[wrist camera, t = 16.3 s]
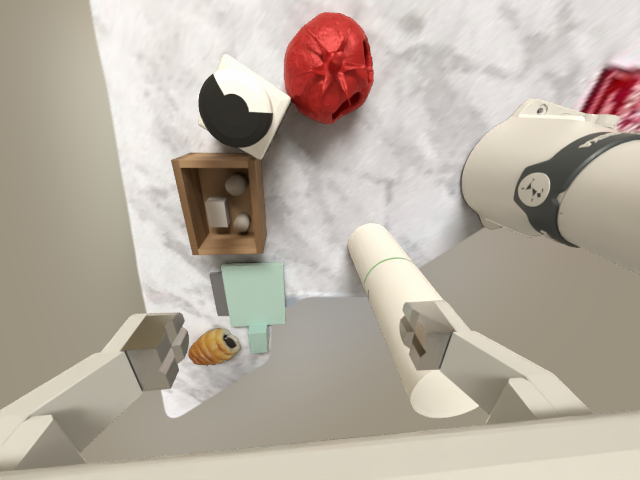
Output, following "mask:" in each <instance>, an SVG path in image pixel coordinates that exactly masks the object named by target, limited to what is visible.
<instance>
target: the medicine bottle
mask: <svg viewBox="0 0 640 480" xmlns="http://www.w3.org/2000/svg"><path fill="white" fill-rule="evenodd" d="M290 104H291V98H290V97H289V96H288V95H287V94H285V93H284V92H282V91H281V90H280V89H278V88H277V87H275V86H274V85H272V84H271V83H269V82H268V81H266V80H265V79H263V78H262V77H260V76H259V75H257V74H256V73H254V72H253V71H251V70H250V69H248V68H247V67H245V66H244V65H242V64H241V63H239V62H238V61H236V60H235V59H233V58H232V57H230V56H229V55H227V54H224V55H223V56H222V59H221V62H220V64H219V67H218V70H217V72H216V73H214V74H212V75H211V76H210V77H209V78H208V79H207V80H206V81H205V82H204V84H203V86H202V88H201V91H200V94H199V112H200V118H199V121H198V124H199V125H200V126H201V127H202V128H204V129H206V130H208V131H209V132H210V133H211V135H212V136H213V137H215V138H216V139H217V140H218V141H220V142H221V143H223V144H225V145H228V146H231V147H236V148H240V149H241V150H243V151H245V152H247V153H248V154H250V155H252V156H254V157H255V158H257V159H262V158H263V157H264V155H265V154H266V152H267V151H268V149H269V147H270V145H271V143H272V141H273V139H274V137H275V135H276V133H277V131H278V129H279V127H280V125H281V123H282V121H283V119H284V117H285V115H286V113H287V110H288V108H289V106H290Z"/></svg>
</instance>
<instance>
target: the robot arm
mask: <svg viewBox="0 0 640 480" xmlns="http://www.w3.org/2000/svg"><path fill="white" fill-rule="evenodd" d="M538 109H539V111H538V113H537V110H538ZM619 120H620V116H616V115H608V114H597V115H594V114H585V113H582V112H579V111H576V110H572V109H569V108H566V107H563V106H559V105H556V104H553V103H550V102H546V101H543V100H540V99H528V100H527V101H525V102H524V103H523V104H522V105H521V106H520V107H519V108H518V109H517V110H516V111H515V112H514V114H513V115H512V116H511V117H510V118H509V119H507V120H506V121H505V122H503V123H501V124H500V125H498V126H496V127H495V128H494V129H492V130H491V131H490V132H488V133H487V134H486V135H485V136H484V137H483V138H482V139H481V140H480V141H479V142H478V144H477V145H476V146H475V148H474V149H473V150H472V152H471V154H470V155H469V157H468V159H467V162H466V164H465V167H464V170H463V175H462V192H463V196H464V198H465V200H466V202H467V204H468V205H469V206H470V207H471V208H472V209H473V210H474V211H476V212H477V213H478V214H479V216H480V220H481V222H482V224H483V226H484V227H486V228H488V229H497V228H502V227H504V228H506V229H508V230H511V231H513V232H516V233H518V234H520V235H522V236H525V237H529V238H532V237H533V236H541V235H545V236H546V237H547V238H549V239H551V240H553V241H556V242H558V243H561V244H565V245H568V246H571V247H576V248H583V249H585V250H587V251H589V252H592V253H594V254H596V255H598V256H600V257H602V258H604V259H607V260H609V261H611V262H613V263H615V264H617V265H619V266H622V267H624V268H626V269H628V270H630V271H632V272H634V273H637V274H639V275H640V134H639V133H633V132H617V126H616V125H617V123H618V121H619ZM402 311H403V313H404V316H403V317H402V318H401V319H400V324H399V330H400V336H401V339H402V341H403V344H404V345H405V346H407V347H408V348H409V349H410V352H409V356H410V358H411V360H412V362H413V364H414V366H415V368H416V370H417V371H420V370H440V372H441V373H443V374H444V375H445V376H446V377H447V378H448V379H449V380H451V381H452V382H453V383H454V384H455V385H456V386H457V387H459V388H460V389H461V390H462V391H463V392H464V393H465V394H467V395H468V396H469V397H470V398H471V399H472V400H473V401H475V402H476V403H477V404H478V405H479V406H480V407H481V408H483V409H484V410H485V411H486V412H487V413H488V414H490V416H489V418H488V419H487V421H486V423H485V425H476V426H466V427H456V428H445V429H435V430H425V431H414V432H406V433H405V432H404V433H394V434H384V435H373V436H363V437H353V438H343V439H333V440H322V441H312V442H302V443H293V444H282V445H271V446H261V447H251V448H241V449H231V450H220V451H210V452H201V453H190V454H180V455H169V456H158V457H148V458H138V459H127V460H117V461H107V462H97V463H87V461H86V460H85V459H84V457H83V456H82V455H81V452H82V451H83V450H84V449H85V448H86V447H87V446H88V445H89V444H90V443H91V442H92V441H93V440H94V439H95V438H96V437H97V436H98V435H99V434H100V433H101V432H102V431H104V429H106V428H107V427H108V426H109V424H111V423H112V422H113V421H114V420H115V419H116V418H117V417H118V416H119V415H120V414H121V413H122V412H123V411H124V410H125V409H126V408H127V407H129V405H130V404H132V403H133V402H134V401H135V400H136V399H137V398H138V397H139V396H140V395H141V394H142V391H152V390H162V389H171V387H172V385H173V382H174V380H175V378H176V376H177V373H178V371H179V368H178V365H177V364H178V363H179V362H180V361H182V360H183V359H184V358H185V355H186V353H187V350H188V345H189V335H188V331H187V330H186V329H185V328H183V327H182V325H183V323H184V318H183V315H182V314H181V313H150V314H134V315H132V316H130V317H129V318H128V319H127V321H126V322H125V323H124V324H123V326H122V327H121V328H120V329H119V330H118V332H117V333H116V334H115V335H114V337H113V338H112V339H111V340H110V342H109V343H108V344H107V345H106V347H105V348H104V349H103V350H102V351H101V353H95V354H93V355H91V356H89V357H88V358H86V359H85V360H83V361H81V362H80V363H78V364H76V365H75V366H73V367H71V368H70V369H68V370H66V371H65V372H63V373H61V374H60V375H58V376H56V377H55V378H53V379H51V380H50V381H48V382H47V383H45V384H43V385H41V386H40V387H38V388H36V389H35V390H33V391H31V392H30V393H28V394H26V395H25V396H23V397H21V398H20V399H18V400H16V401H15V402H13V403H11V404H10V405H8V406H6V407H5V408H3V409H2V410H0V480H640V410H631V411H621V412H610V413H600V414H593V413H592V412H591V411H590V410H589V409H588V408H587V407H586V406H585V405H584V404H583V403H582V402H581V401H580V400H579V399H578V398H577V397H576V396H575V395H574V394H573V393H572V392H571V391H570V390H569V389H568V388H567V387H566V386H565V385H564V384H563V383H562V382H561V381H560V380H559V379H558V378H557V377H556V376H555V375H554V374H552V373H551V372H549V371H547V370H545V369H543V368H542V367H540V366H538V365H536V364H534V363H533V362H531V361H529V360H527V359H525V358H524V357H522V356H520V355H518V354H516V353H514V352H513V351H511V350H509V349H507V348H505V347H504V346H502V345H500V344H498V343H496V342H494V341H493V340H491V339H489V338H487V337H485V336H483V335H482V334H480V333H478V332H476V331H471V330H470V329H469V328H468V327H467V325H466V324H465V323H464V322H463V321H462V319H461V318H460V317H459V316H458V315H457V313H456V312H455V311H454V310H453V309H452V307H451V306H450V305H449V304H448V303H447V302H446V301H445V300H434V301H421V302H405V304H404V305H403V309H402Z"/></svg>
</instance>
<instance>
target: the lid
mask: <svg viewBox="0 0 640 480" xmlns="http://www.w3.org/2000/svg"><path fill="white" fill-rule="evenodd" d="M221 271H222V277H223V282H224V288H225V294H226V300H227V305H228V311H229V317H230V323H231V327H239V326H249V331H248V338H249V345H250V352H251V353H267V352H268V345H269V333H268V325H279V324H286V316H285V293H284V271H283V262H277V263H240V264H222V265H221Z"/></svg>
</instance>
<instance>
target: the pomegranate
mask: <svg viewBox="0 0 640 480" xmlns="http://www.w3.org/2000/svg"><path fill="white" fill-rule="evenodd" d="M372 66H373V62H372V57H371V53H370V46H369V43H368V38H367V36H366V35H365V33H364V31H363V29H362V28H361V27H360V26H359V25H358V24H357V23H356V22H355V21H354V20H353V19H351V18H350V17H348V16H345V15H343V14H341V13H329V12H325V13H321V14H319V15H318V16H316V17H315V18H314V19H312V20H311V21H310V22H308V23H307V24H306V25H304V26H303V27H302V28H301V29H300V31H299V32H298V33H297V34H296V36H295V37H294V38H293V39H292V41H291V42H290V43H289V45H288V47H287V50H286V53H285V59H284V80H285V88H286V91H287V94H288V96H289V97H290V98H291V102H292V103H293V104H295V106H296V107H297V109H298V110H299V111H300V112H301V113H302V114H304V115H305V116H307V117H309V118H311V119H313V120H315V121H318V122H320V123H324V124H333V123H334V122H335V121H336V120H337V119H339V118H340V117H341V116H343V115H346V114H348V113H350V112H352V111H354V110H356V109H358V108H359V107H360V106H362V105H363V103H364V102H365V101H366V99H367V97H368V94H369V93H370V90H371V87H372V85H373V80H374V79H373V75H374V72H373V69H372Z"/></svg>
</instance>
